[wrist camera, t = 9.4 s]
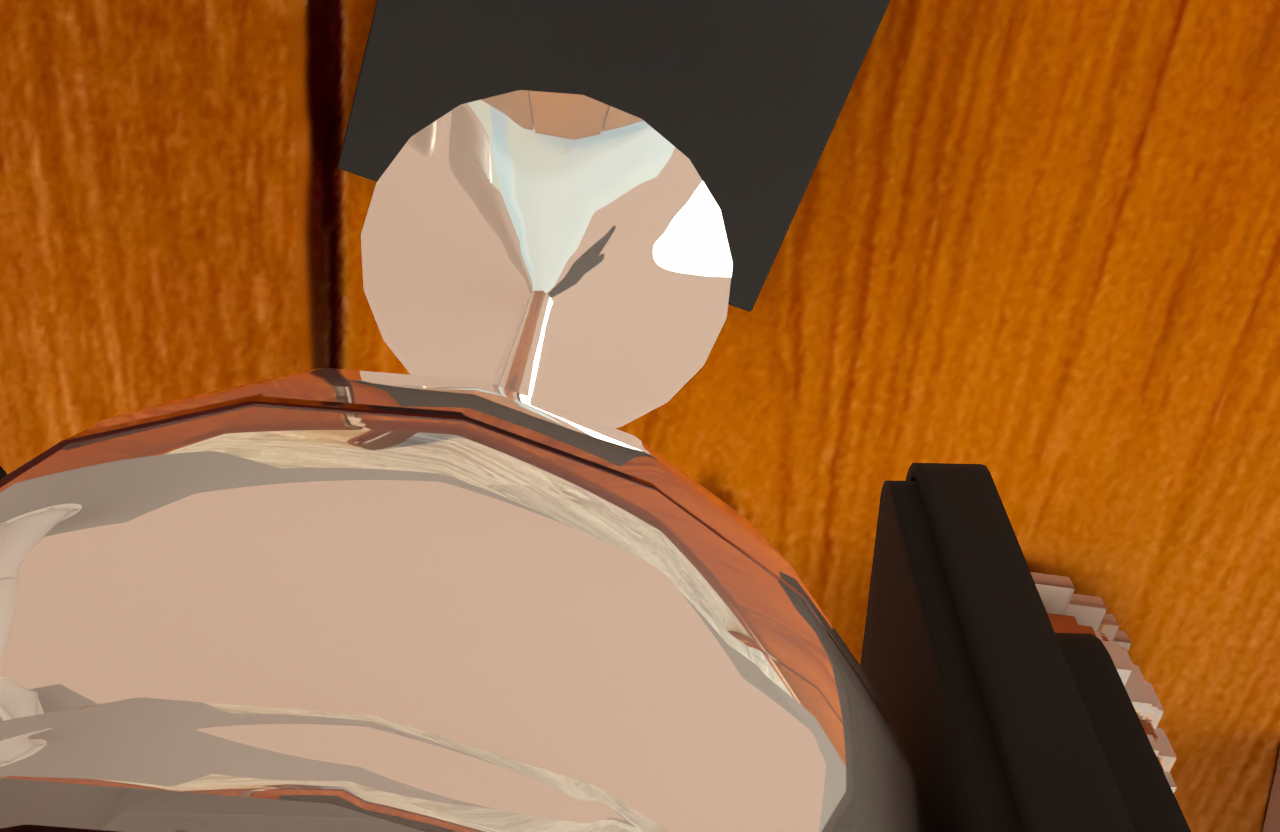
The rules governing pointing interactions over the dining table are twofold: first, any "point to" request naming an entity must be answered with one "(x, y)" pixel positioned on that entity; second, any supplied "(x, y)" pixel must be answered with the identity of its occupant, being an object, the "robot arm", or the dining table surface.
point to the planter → (1274, 804)
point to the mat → (636, 87)
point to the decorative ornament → (1091, 618)
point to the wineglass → (441, 549)
